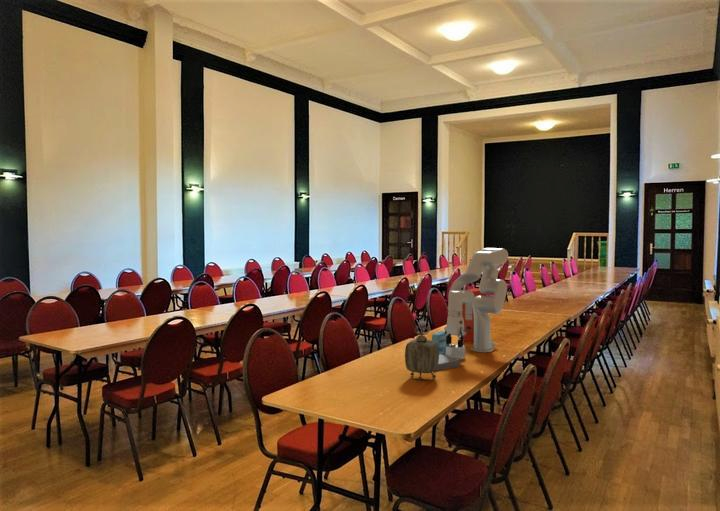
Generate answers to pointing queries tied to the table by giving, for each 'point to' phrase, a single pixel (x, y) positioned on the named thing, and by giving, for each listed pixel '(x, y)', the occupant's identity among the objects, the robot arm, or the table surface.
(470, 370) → the table surface
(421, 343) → the tabletop clock
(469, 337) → the file binder
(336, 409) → the table surface
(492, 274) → the robot arm
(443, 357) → the grey square tray
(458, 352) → the block
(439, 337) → the data package
